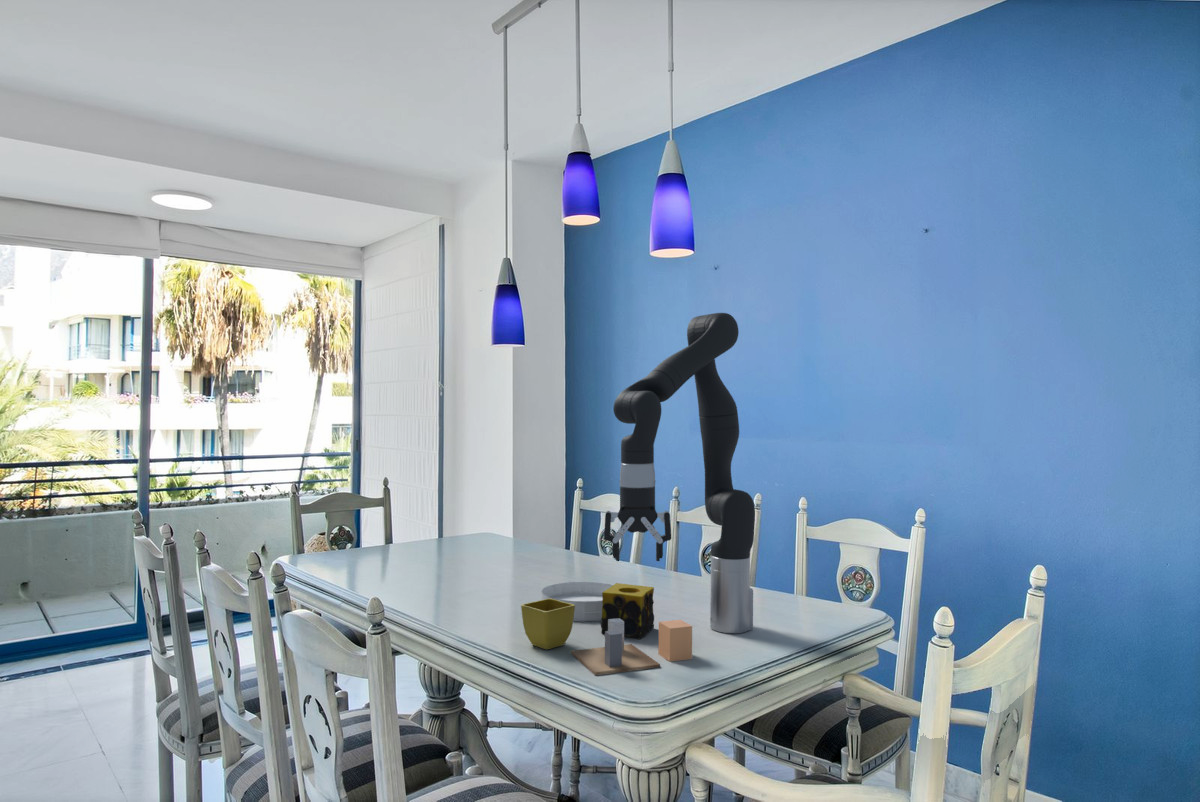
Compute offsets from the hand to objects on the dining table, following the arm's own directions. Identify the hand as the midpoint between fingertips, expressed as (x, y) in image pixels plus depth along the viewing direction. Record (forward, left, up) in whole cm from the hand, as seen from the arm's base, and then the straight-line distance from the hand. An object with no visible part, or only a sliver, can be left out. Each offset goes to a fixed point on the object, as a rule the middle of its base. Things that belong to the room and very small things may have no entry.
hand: (637, 560), depth 159 cm
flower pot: (+16, -11, -20) cm, 28 cm away
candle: (-5, -15, -20) cm, 26 cm away
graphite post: (+8, +7, -19) cm, 22 cm away
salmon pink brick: (-7, +5, -20) cm, 21 cm away
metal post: (+4, -1, -19) cm, 20 cm away
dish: (-2, -37, -20) cm, 43 cm away
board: (+6, +3, -20) cm, 21 cm away
